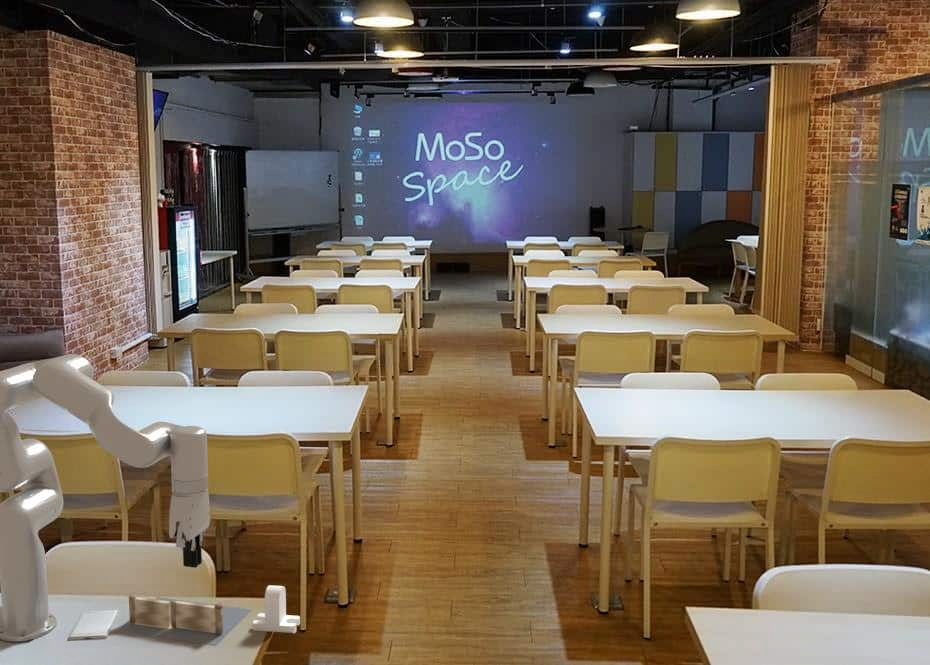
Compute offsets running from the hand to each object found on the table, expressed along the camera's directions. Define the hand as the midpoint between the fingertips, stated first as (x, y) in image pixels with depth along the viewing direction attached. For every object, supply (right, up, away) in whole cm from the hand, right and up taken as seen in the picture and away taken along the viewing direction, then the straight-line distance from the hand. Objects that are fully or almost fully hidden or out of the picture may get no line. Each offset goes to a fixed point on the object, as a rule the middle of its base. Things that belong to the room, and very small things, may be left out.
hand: (192, 564), depth 210 cm
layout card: (-6, -17, +15) cm, 23 cm away
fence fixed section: (-13, -17, +12) cm, 25 cm away
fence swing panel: (-2, -17, +10) cm, 20 cm away
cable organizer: (+16, -18, +13) cm, 27 cm away
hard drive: (-26, -18, +11) cm, 33 cm away
